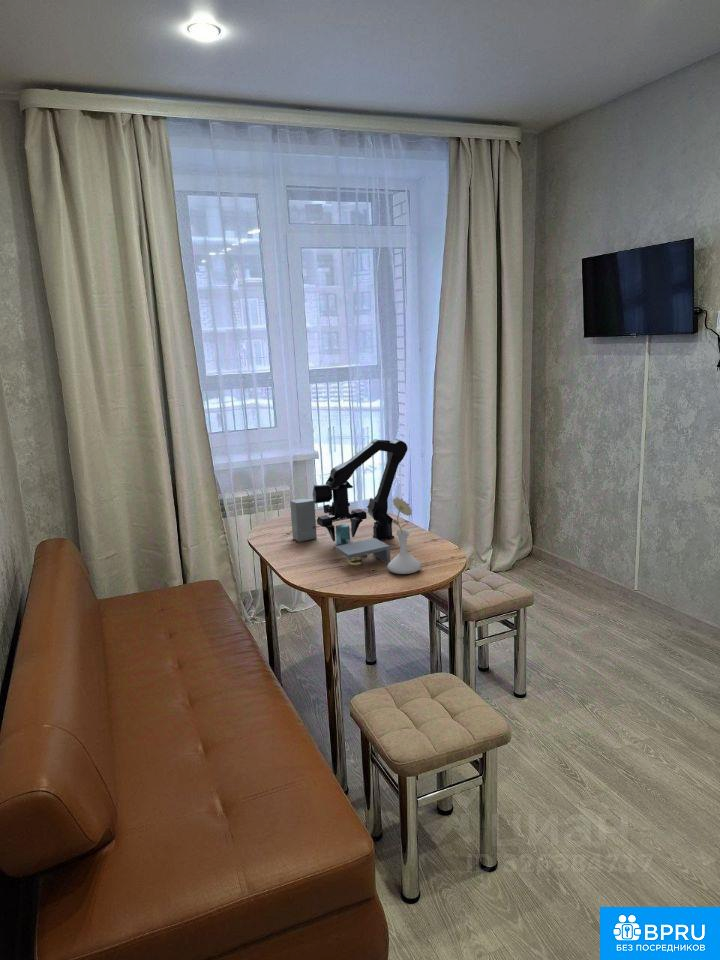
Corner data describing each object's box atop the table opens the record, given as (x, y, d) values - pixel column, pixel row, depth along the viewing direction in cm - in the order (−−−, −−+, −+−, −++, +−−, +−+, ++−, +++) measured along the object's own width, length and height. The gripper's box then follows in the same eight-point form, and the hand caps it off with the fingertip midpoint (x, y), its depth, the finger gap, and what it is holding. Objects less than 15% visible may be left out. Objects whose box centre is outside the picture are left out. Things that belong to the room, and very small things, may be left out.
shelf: (375, 554, 240) (374, 538, 238) (390, 562, 230) (389, 545, 229) (335, 563, 233) (334, 546, 232) (349, 572, 223) (348, 554, 222)
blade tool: (345, 540, 257) (344, 523, 256) (370, 555, 239) (369, 536, 238) (336, 542, 256) (335, 525, 254) (360, 557, 238) (359, 538, 236)
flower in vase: (426, 574, 218) (423, 500, 212) (394, 579, 215) (390, 505, 209) (412, 561, 230) (409, 492, 224) (381, 566, 227) (377, 496, 221)
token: (358, 561, 234) (358, 556, 233) (365, 565, 229) (364, 560, 229) (345, 564, 231) (345, 559, 231) (352, 568, 227) (351, 563, 227)
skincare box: (298, 542, 259) (295, 503, 255) (291, 538, 265) (288, 500, 261) (318, 538, 262) (315, 500, 259) (311, 534, 269) (308, 496, 265)
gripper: (353, 492, 262) (355, 529, 265) (310, 499, 254) (312, 538, 257) (366, 497, 252) (368, 536, 256) (321, 505, 244) (324, 545, 248)
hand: (343, 539), depth 254 cm, fingers open, 8 cm apart
